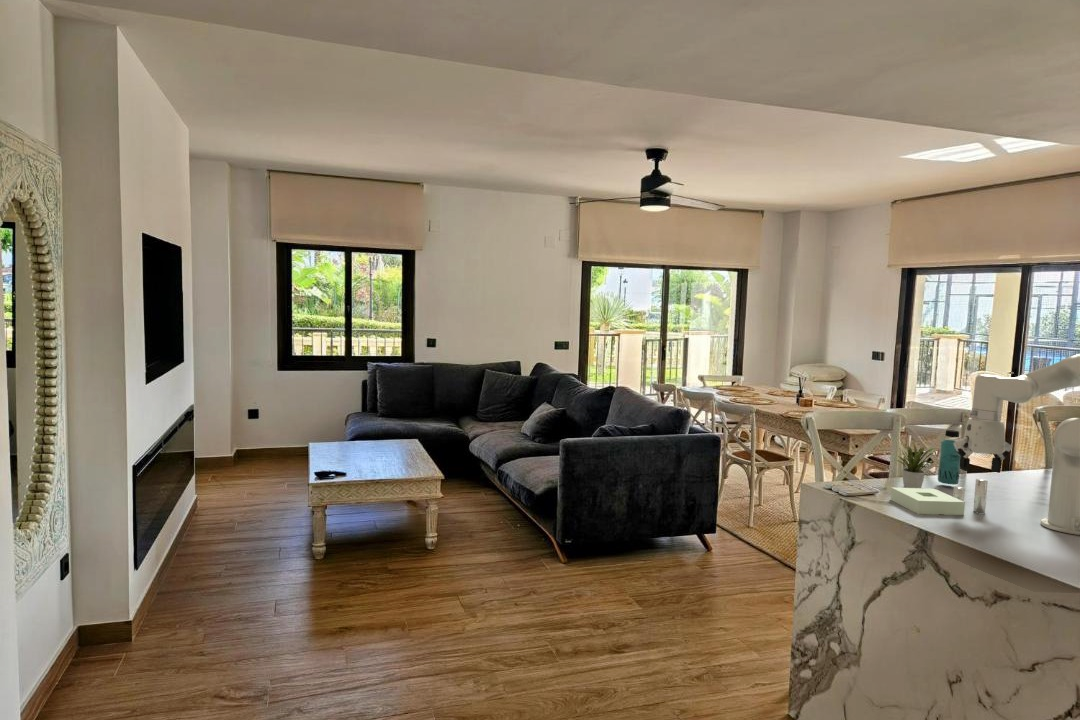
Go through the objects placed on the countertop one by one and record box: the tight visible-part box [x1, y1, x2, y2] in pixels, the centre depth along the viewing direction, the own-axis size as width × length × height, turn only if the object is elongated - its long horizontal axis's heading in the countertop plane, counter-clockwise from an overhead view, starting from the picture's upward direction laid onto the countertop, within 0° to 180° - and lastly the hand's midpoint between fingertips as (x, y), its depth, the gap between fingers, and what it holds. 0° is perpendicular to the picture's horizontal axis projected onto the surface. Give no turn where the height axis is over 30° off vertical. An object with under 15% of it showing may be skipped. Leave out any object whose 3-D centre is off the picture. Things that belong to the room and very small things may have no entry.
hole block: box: [890, 487, 966, 516], centre depth 205 cm, size 15×14×4 cm
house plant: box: [895, 441, 940, 488], centre depth 227 cm, size 14×14×16 cm
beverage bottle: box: [937, 429, 963, 486], centre depth 232 cm, size 6×7×20 cm
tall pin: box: [972, 478, 989, 514], centre depth 201 cm, size 3×3×10 cm
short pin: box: [952, 485, 966, 502], centre depth 211 cm, size 3×3×5 cm
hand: (979, 470), depth 201 cm, fingers open, 9 cm apart
